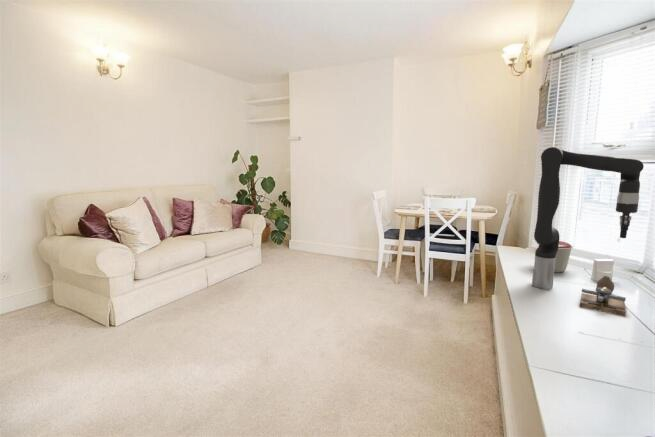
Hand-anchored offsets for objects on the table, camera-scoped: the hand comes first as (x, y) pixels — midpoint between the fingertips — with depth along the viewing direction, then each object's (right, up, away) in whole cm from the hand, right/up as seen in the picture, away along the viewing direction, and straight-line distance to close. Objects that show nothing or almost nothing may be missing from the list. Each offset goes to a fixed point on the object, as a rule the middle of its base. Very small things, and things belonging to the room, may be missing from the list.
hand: (622, 237), depth 153 cm
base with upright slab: (+15, -26, +30) cm, 42 cm away
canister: (0, -24, +49) cm, 54 cm away
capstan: (-12, -30, -2) cm, 33 cm away
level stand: (-12, -32, -2) cm, 34 cm away
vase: (+2, -30, +12) cm, 32 cm away
